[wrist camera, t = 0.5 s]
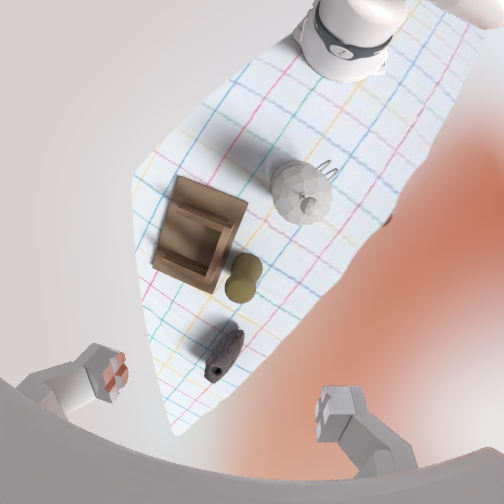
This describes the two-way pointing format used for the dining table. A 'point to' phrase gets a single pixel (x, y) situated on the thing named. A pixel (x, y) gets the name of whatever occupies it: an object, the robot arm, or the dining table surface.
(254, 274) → the cork
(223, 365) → the perforated stone tool
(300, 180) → the french press
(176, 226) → the u rest
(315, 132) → the dining table surface
